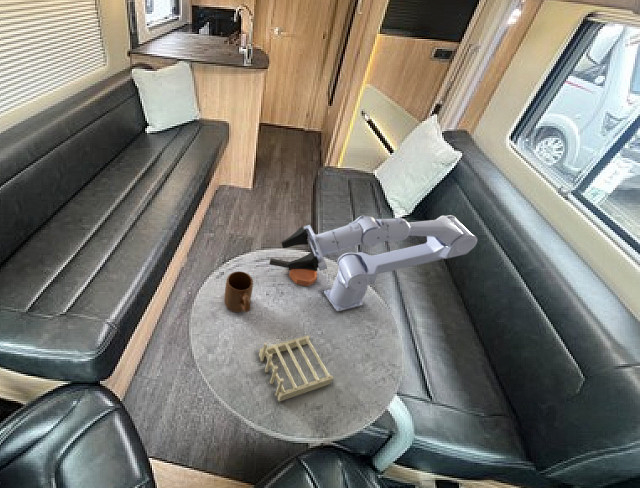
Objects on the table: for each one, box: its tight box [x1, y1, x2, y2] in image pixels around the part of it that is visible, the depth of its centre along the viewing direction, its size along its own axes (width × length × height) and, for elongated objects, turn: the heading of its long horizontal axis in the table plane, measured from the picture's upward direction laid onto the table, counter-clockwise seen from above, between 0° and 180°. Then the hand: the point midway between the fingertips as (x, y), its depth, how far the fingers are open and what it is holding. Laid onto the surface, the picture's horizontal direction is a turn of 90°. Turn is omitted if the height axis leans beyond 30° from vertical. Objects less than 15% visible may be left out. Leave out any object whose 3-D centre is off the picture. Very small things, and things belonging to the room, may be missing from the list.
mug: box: [223, 271, 254, 313], centre depth 90 cm, size 12×8×9 cm, turn 17°
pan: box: [269, 257, 318, 287], centre depth 106 cm, size 16×9×4 cm, turn 80°
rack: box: [258, 334, 334, 403], centre depth 78 cm, size 14×12×7 cm
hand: (284, 255), depth 87 cm, fingers open, 7 cm apart
